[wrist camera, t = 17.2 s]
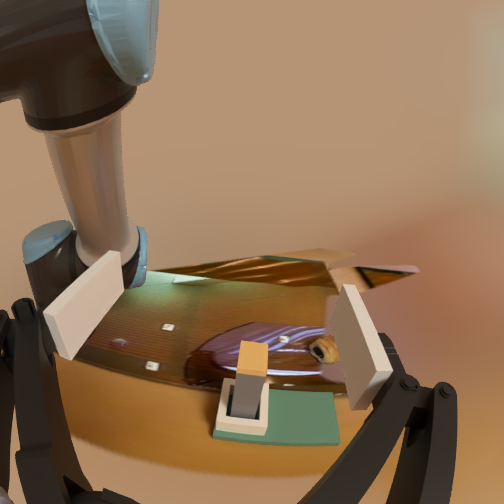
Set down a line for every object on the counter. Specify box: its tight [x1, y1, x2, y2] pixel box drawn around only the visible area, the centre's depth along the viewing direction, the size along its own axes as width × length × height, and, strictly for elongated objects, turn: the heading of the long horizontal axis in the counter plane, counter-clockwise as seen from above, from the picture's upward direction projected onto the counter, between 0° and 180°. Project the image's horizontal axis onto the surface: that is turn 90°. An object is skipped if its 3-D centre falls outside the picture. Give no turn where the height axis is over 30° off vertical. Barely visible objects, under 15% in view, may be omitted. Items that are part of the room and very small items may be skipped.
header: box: [216, 378, 269, 436], centre depth 38 cm, size 7×9×3 cm
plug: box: [230, 341, 268, 419], centre depth 36 cm, size 4×5×14 cm
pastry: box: [309, 336, 340, 364], centre depth 55 cm, size 9×7×4 cm
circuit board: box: [213, 383, 340, 446], centre depth 39 cm, size 20×11×1 cm, turn 86°
